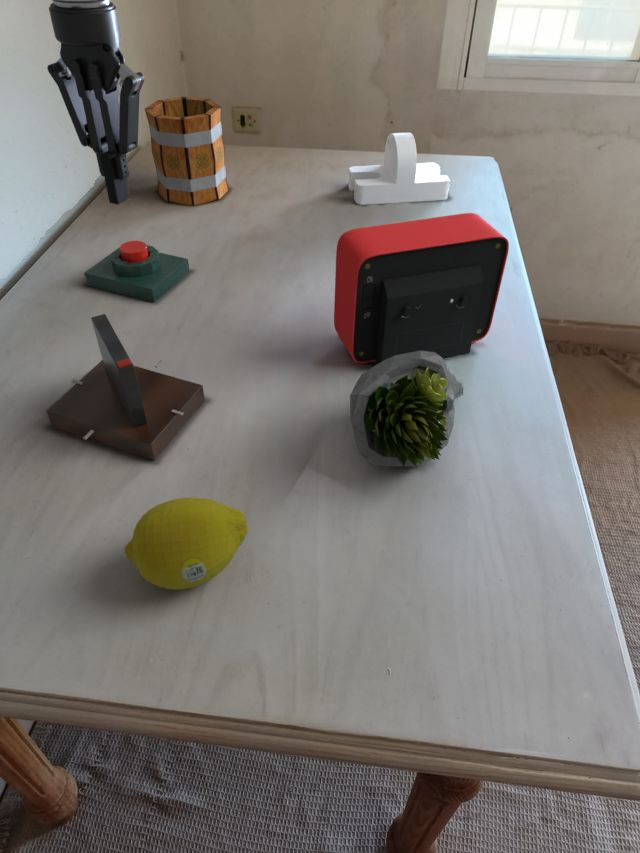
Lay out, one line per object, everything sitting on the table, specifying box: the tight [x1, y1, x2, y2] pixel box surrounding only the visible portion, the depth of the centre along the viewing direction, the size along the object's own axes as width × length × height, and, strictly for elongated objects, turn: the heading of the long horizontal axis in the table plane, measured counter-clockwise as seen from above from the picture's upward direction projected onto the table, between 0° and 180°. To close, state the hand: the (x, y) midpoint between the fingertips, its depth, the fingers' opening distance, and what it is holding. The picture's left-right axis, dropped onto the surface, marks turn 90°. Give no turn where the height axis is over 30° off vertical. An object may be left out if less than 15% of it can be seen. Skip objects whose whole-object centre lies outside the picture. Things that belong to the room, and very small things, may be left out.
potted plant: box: [349, 350, 464, 470], centre depth 66 cm, size 12×13×15 cm
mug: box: [144, 95, 230, 206], centre depth 119 cm, size 20×14×15 cm
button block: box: [83, 244, 190, 303], centre depth 96 cm, size 12×10×4 cm
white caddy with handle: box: [347, 132, 451, 206], centre depth 119 cm, size 10×18×11 cm, turn 99°
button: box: [118, 240, 149, 263], centre depth 94 cm, size 4×4×2 cm
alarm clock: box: [333, 212, 510, 365], centre depth 80 cm, size 10×20×16 cm, turn 108°
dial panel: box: [45, 359, 206, 461], centre depth 74 cm, size 15×15×3 cm
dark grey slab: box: [90, 313, 147, 427], centre depth 70 cm, size 11×2×8 cm, turn 29°
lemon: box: [124, 497, 248, 591], centre depth 56 cm, size 11×8×8 cm
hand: (119, 200), depth 89 cm, fingers closed
